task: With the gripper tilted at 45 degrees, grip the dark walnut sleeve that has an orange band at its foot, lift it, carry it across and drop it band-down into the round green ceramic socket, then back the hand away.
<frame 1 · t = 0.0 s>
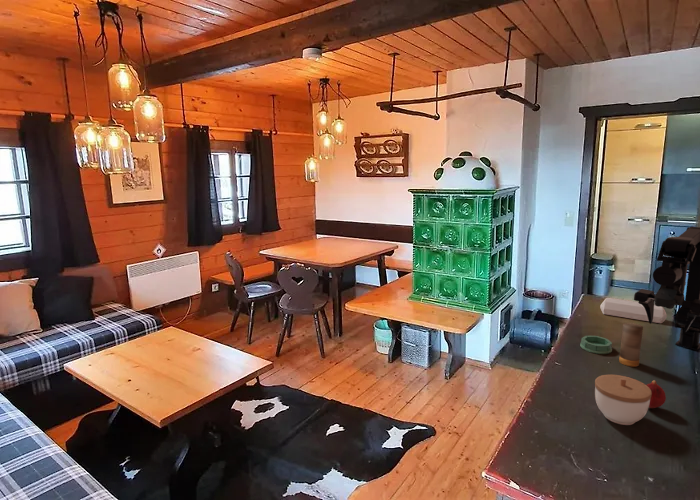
hand: (667, 327, 138), 15 cm above the worktop, tool pointing down, fingers open, 9 cm apart
onion: (651, 408, 121), on the worktop
lidded bowl: (619, 417, 117), on the worktop
pale pink faceted bar: (631, 317, 187), on the worktop
socket: (595, 348, 159), on the worktop
sleeve: (628, 362, 147), on the worktop
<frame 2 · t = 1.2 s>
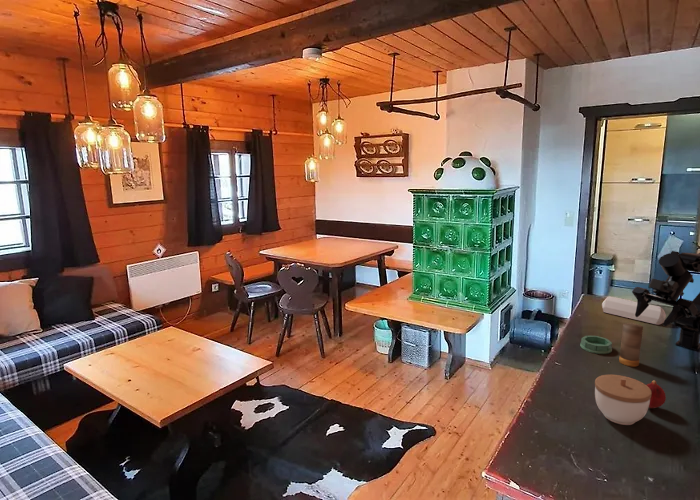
hand: (649, 320, 147), 13 cm above the worktop, tool tilted 45°, fingers open, 9 cm apart
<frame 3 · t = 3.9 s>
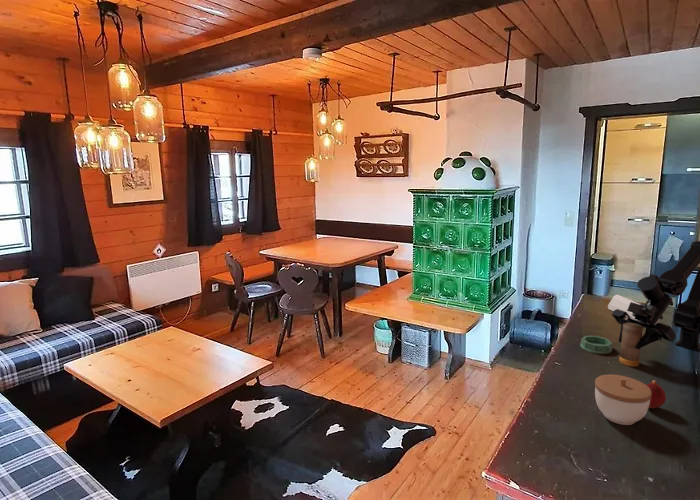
hand: (627, 344, 145), 7 cm above the worktop, tool tilted 45°, fingers closed on sleeve, 5 cm apart
sleeve: (628, 362, 147), on the worktop, touching gripper
when the fingers open (10 cm above the worktop, at t = 8.1 s): sleeve drops 3 cm, resting on socket.
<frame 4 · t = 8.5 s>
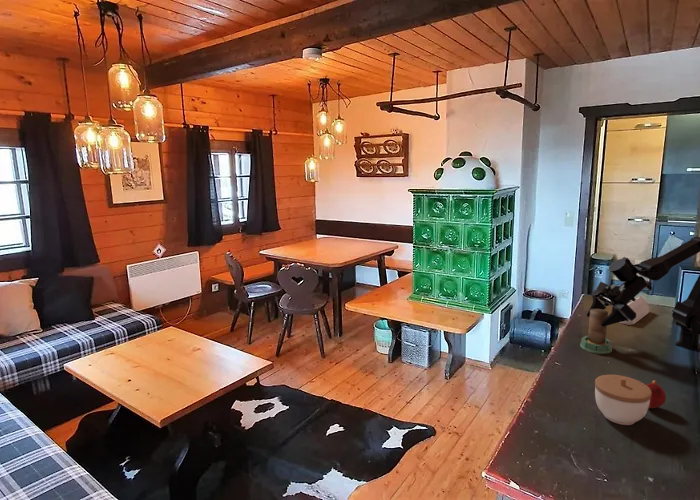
hand: (594, 320, 156), 10 cm above the worktop, tool tilted 45°, fingers open, 9 cm apart
sleeve: (596, 345, 158), point 1 cm above the worktop, touching socket
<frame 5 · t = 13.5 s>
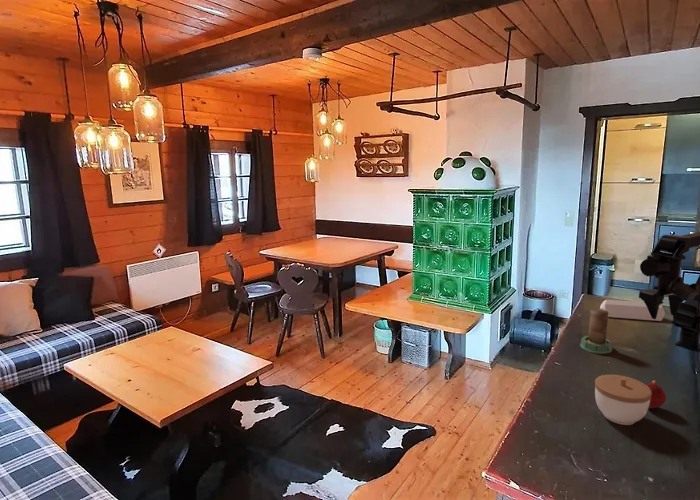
hand: (663, 317, 151), 13 cm above the worktop, tool pointing down, fingers open, 9 cm apart
at the end: sleeve 0.1 cm from the socket (horizontally); sleeve point 0.8 cm above the worktop; sleeve tilted 0° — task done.
